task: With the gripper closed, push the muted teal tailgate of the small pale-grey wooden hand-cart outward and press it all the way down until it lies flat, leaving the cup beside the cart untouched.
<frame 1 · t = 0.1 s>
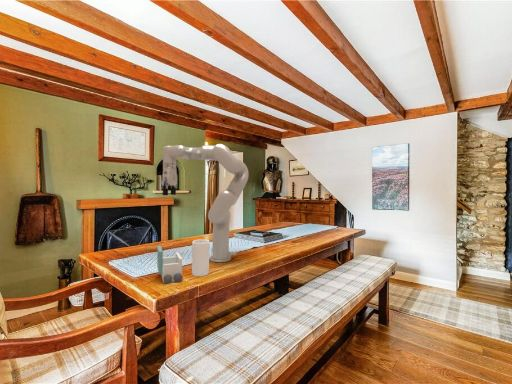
hand: (169, 194, 154), 37 cm above the table, tool pointing down, fingers open, 9 cm apart
cart: (171, 277, 120), on the table
cup: (200, 273, 126), on the table
tailgate: (159, 259, 118), point 9 cm above the table, hinge at 0.0°
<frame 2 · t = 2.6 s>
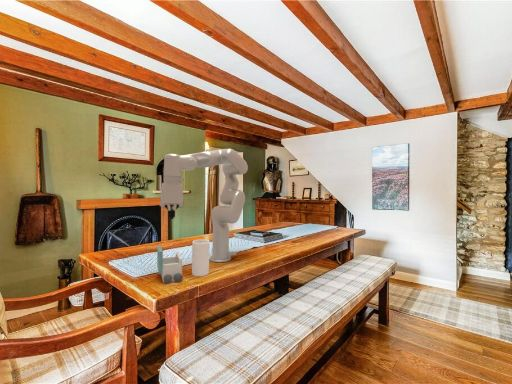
hand: (171, 218, 121), 27 cm above the table, tool pointing down, fingers closed
nothing on the table moved.
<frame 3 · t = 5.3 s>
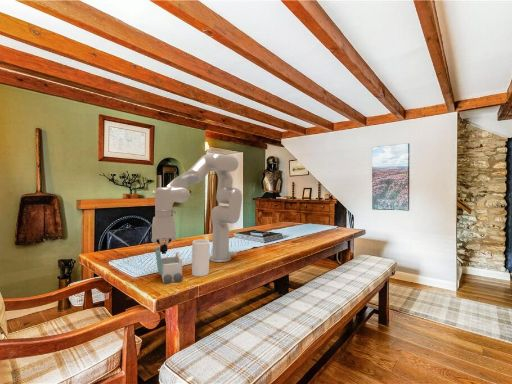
hand: (163, 253, 118), 12 cm above the table, tool pointing down, fingers closed
tailgate: (158, 259, 118), point 9 cm above the table, hinge at 6.1°, touching gripper
everything else where it was.
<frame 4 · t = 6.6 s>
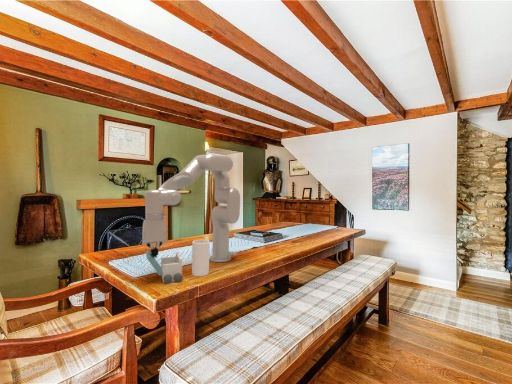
hand: (154, 256, 117), 10 cm above the table, tool pointing down, fingers closed
tailgate: (154, 262, 117), point 8 cm above the table, hinge at 31.9°, touching gripper
everything else where it was.
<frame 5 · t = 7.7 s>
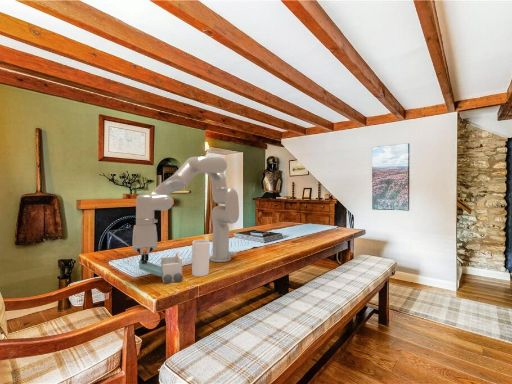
hand: (144, 262, 115), 8 cm above the table, tool pointing down, fingers closed
tailgate: (150, 267, 116), point 6 cm above the table, hinge at 61.7°, touching gripper
everything else where it was.
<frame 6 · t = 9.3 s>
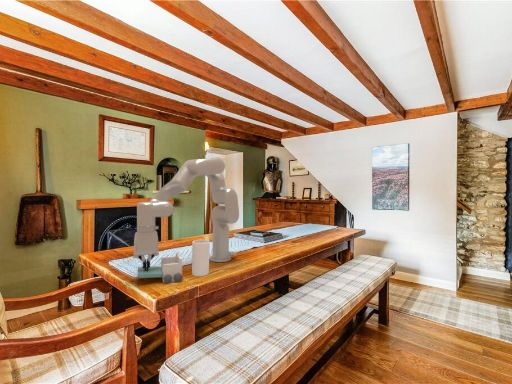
hand: (146, 269, 116), 5 cm above the table, tool pointing down, fingers closed
tailgate: (149, 271, 116), point 4 cm above the table, hinge at 84.6°
everything else where it was.
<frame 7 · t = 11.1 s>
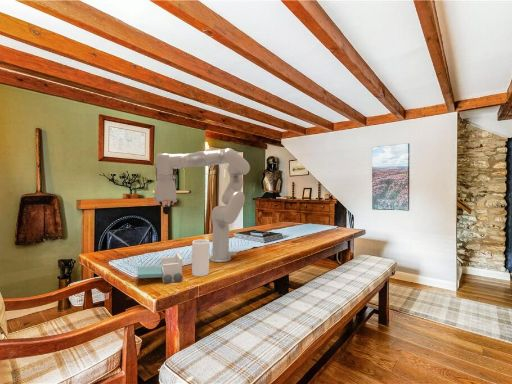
hand: (166, 214, 130), 29 cm above the table, tool pointing down, fingers closed
nothing on the table moved.
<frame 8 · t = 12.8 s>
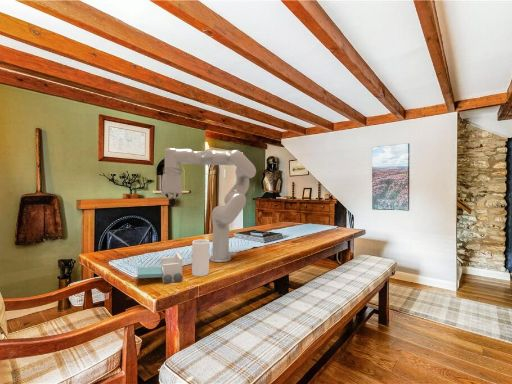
hand: (171, 206, 135), 32 cm above the table, tool pointing down, fingers closed
nothing on the table moved.
at the end: tailgate at +85° (first picture: +0°); cup moved 0.2 cm from its start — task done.
